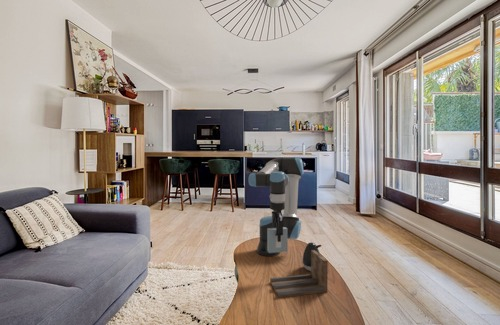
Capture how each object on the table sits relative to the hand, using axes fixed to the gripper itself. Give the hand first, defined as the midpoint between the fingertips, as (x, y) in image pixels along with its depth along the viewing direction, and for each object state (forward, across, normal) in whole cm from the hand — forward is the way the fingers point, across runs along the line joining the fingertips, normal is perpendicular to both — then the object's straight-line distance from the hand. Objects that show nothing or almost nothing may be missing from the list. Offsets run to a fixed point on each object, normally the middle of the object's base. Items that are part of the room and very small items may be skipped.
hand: (277, 245), depth 139 cm
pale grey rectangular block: (+3, 0, 0) cm, 3 cm away
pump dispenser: (+17, -6, +22) cm, 28 cm away
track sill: (+17, +12, +7) cm, 22 cm away
